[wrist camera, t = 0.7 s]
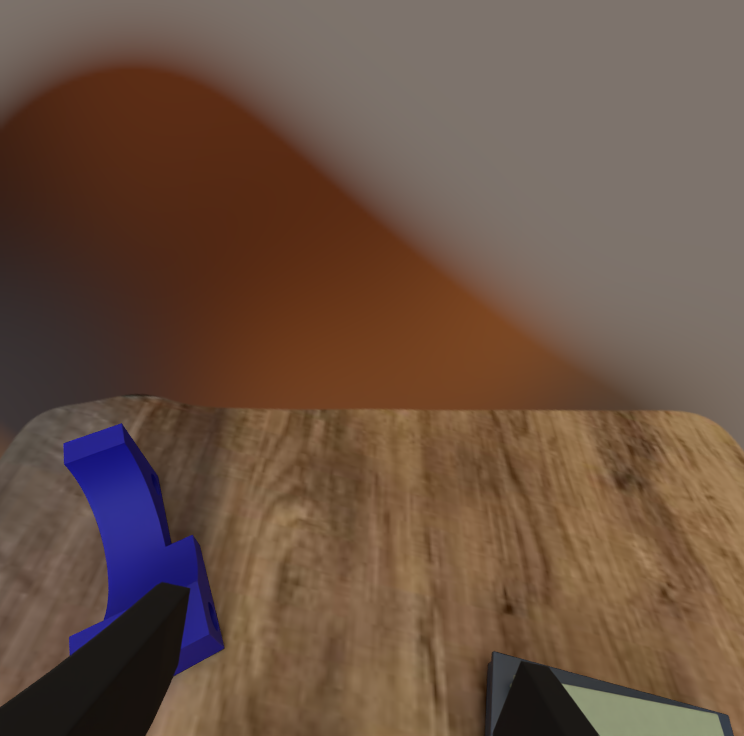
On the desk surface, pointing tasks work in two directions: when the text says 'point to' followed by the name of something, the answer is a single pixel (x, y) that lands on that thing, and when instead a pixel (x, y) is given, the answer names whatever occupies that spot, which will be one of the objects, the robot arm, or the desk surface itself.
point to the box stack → (610, 705)
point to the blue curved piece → (140, 539)
